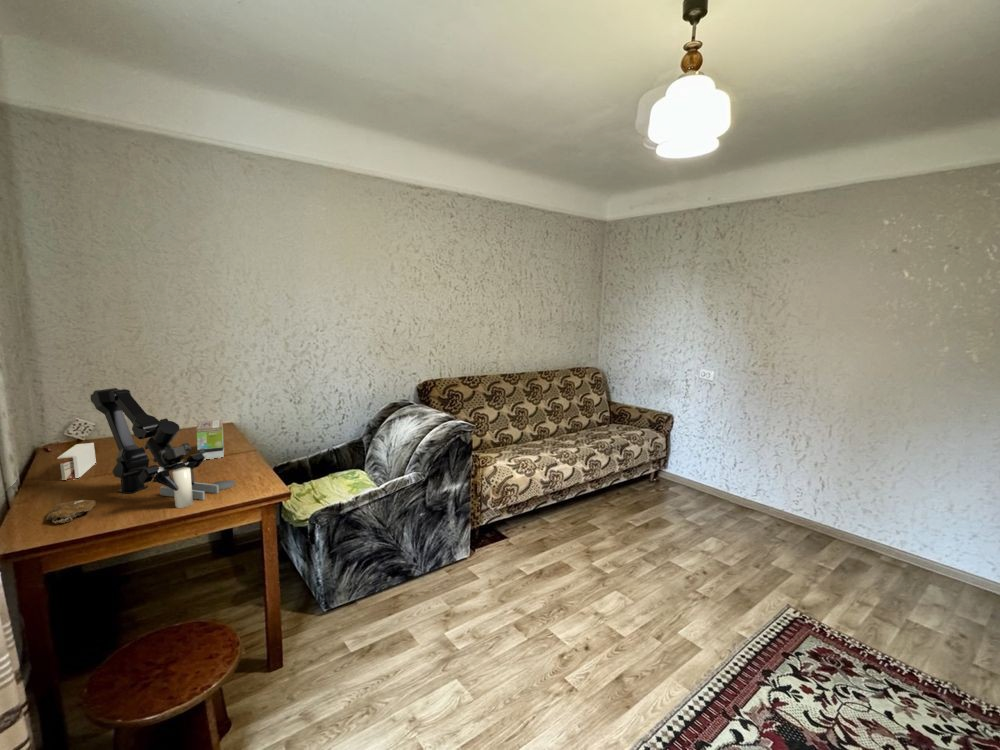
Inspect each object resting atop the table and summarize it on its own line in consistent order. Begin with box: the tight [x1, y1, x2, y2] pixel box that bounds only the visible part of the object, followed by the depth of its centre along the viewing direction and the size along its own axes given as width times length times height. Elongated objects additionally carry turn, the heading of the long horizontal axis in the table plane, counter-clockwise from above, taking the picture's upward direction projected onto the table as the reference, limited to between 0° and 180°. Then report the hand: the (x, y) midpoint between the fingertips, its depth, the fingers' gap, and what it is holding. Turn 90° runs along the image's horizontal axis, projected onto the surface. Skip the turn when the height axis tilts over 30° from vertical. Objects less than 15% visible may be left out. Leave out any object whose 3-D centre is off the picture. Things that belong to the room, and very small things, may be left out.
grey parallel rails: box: [159, 481, 220, 501], centre depth 160 cm, size 18×7×3 cm, turn 79°
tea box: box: [195, 419, 225, 461], centre depth 202 cm, size 15×10×15 cm
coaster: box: [211, 479, 237, 491], centre depth 168 cm, size 9×9×1 cm
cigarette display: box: [57, 442, 97, 481], centre depth 178 cm, size 20×6×9 cm, turn 27°
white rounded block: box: [171, 467, 194, 509], centre depth 151 cm, size 5×5×12 cm
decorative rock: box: [45, 499, 97, 524], centre depth 142 cm, size 11×4×15 cm
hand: (185, 487), depth 150 cm, fingers closed on white rounded block, 5 cm apart
